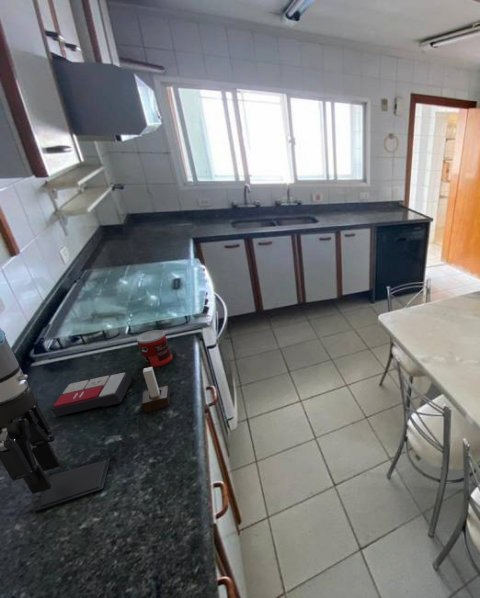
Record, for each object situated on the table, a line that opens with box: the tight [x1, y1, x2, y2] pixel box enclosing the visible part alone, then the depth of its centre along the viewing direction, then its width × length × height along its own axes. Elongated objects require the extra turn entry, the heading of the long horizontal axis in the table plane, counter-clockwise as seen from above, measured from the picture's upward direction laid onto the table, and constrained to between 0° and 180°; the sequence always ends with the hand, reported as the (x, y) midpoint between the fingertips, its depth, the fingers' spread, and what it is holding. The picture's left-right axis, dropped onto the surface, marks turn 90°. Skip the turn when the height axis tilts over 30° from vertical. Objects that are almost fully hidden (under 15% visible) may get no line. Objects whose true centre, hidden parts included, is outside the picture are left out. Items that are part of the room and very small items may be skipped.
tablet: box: [34, 457, 111, 514], centre depth 75 cm, size 11×9×1 cm
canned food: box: [136, 329, 173, 369], centre depth 114 cm, size 8×8×11 cm
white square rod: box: [142, 367, 161, 398], centre depth 96 cm, size 2×2×13 cm
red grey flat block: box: [51, 371, 132, 417], centre depth 98 cm, size 11×4×15 cm
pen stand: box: [141, 385, 171, 414], centre depth 98 cm, size 6×6×4 cm
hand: (47, 478), depth 71 cm, fingers open, 5 cm apart
